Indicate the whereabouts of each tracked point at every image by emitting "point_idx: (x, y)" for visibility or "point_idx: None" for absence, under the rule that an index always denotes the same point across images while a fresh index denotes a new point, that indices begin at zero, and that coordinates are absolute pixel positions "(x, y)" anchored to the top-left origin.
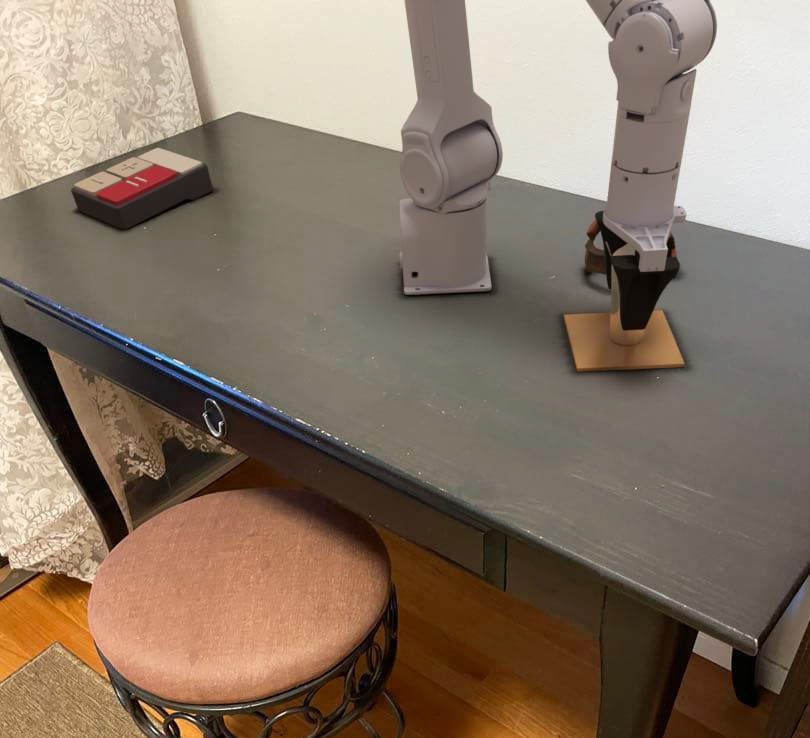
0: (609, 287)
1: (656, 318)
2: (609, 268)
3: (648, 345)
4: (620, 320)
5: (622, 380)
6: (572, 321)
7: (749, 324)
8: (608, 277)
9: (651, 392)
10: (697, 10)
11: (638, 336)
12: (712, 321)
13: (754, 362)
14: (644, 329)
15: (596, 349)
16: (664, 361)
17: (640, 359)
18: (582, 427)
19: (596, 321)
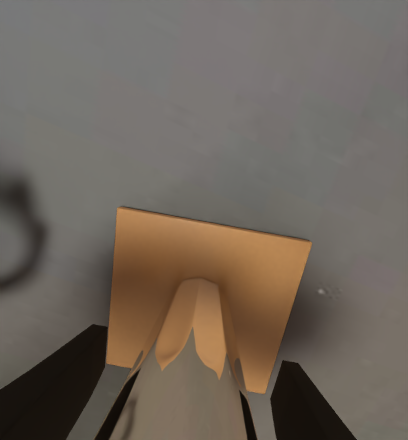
0: (101, 372)
1: (146, 230)
2: (65, 436)
3: (234, 278)
4: (274, 421)
5: (307, 340)
6: (129, 359)
7: (198, 37)
8: (85, 405)
9: (356, 315)
10: None
11: (227, 305)
12: (168, 118)
13: (343, 99)
14: (220, 298)
15: None
16: (292, 273)
17: (272, 306)
18: (394, 421)
19: (137, 328)
